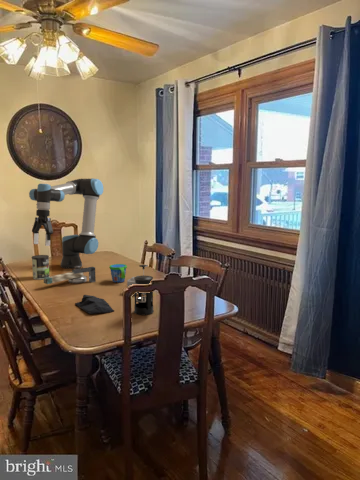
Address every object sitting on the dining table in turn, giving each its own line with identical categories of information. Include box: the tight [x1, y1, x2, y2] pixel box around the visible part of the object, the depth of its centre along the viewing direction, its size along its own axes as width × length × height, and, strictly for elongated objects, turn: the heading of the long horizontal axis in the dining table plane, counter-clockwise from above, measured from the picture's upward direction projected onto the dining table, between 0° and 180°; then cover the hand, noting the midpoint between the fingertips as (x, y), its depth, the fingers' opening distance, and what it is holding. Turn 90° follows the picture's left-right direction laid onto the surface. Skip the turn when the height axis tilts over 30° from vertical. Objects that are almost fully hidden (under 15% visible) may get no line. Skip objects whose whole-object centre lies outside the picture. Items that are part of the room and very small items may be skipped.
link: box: [43, 266, 84, 285], centre depth 226 cm, size 25×6×6 cm, turn 141°
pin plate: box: [67, 274, 88, 284], centre depth 234 cm, size 11×11×2 cm
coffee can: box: [31, 254, 50, 280], centre depth 241 cm, size 10×10×14 cm
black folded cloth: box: [74, 294, 115, 315], centre depth 185 cm, size 15×22×5 cm
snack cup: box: [109, 263, 128, 284], centre depth 234 cm, size 16×10×10 cm
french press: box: [133, 264, 154, 316], centre depth 177 cm, size 12×9×23 cm
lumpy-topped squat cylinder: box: [126, 276, 146, 295], centre depth 211 cm, size 10×13×9 cm
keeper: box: [71, 266, 97, 283], centre depth 230 cm, size 14×3×9 cm, turn 126°
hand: (41, 244), depth 226 cm, fingers open, 13 cm apart
